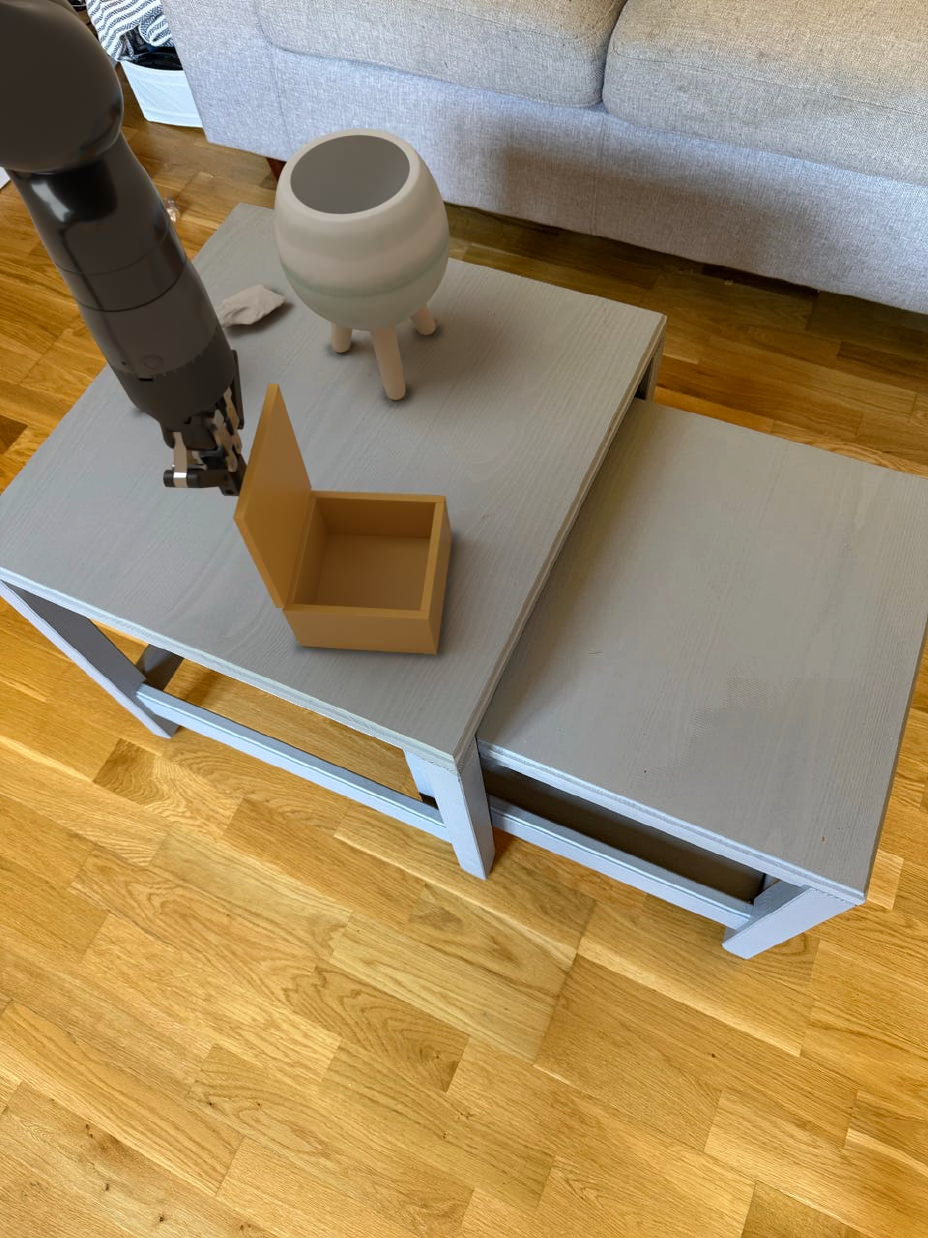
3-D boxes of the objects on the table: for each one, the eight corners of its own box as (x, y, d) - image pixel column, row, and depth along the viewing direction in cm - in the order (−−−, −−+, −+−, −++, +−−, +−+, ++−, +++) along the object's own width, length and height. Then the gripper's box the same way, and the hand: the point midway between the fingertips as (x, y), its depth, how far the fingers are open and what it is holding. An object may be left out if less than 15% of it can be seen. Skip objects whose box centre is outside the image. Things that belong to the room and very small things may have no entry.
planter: (409, 436, 93) (373, 259, 73) (286, 381, 98) (221, 201, 78) (490, 333, 99) (476, 143, 79) (369, 286, 104) (328, 96, 84)
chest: (452, 536, 87) (445, 495, 81) (436, 654, 81) (428, 619, 75) (324, 530, 88) (308, 489, 82) (300, 646, 83) (281, 611, 77)
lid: (278, 383, 70) (268, 382, 70) (243, 518, 64) (232, 518, 64) (312, 486, 82) (303, 486, 82) (285, 608, 76) (275, 608, 76)
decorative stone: (228, 347, 101) (219, 327, 98) (206, 318, 103) (197, 297, 101) (295, 312, 103) (289, 292, 100) (272, 284, 105) (265, 263, 102)
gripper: (128, 253, 61) (212, 422, 76) (69, 406, 55) (174, 556, 70) (236, 253, 60) (299, 424, 75) (188, 409, 54) (267, 560, 69)
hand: (238, 488), depth 72 cm, fingers closed
